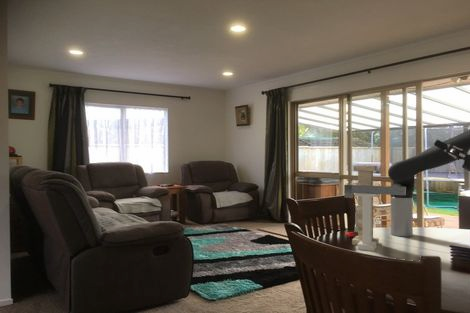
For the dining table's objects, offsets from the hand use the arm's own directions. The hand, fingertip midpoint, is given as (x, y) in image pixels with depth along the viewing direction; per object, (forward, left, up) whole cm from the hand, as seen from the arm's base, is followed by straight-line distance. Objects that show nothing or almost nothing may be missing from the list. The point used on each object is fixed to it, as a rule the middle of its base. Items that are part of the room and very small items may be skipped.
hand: (435, 142), depth 136 cm
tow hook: (-18, -32, -41) cm, 56 cm away
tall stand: (-4, -25, -41) cm, 48 cm away
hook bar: (+4, -21, -19) cm, 29 cm away
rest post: (+4, -23, -41) cm, 47 cm away
